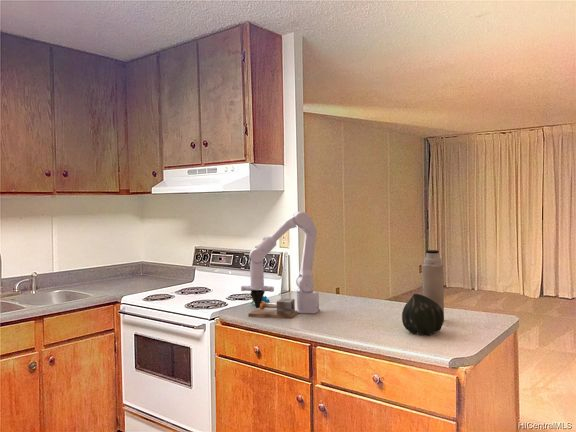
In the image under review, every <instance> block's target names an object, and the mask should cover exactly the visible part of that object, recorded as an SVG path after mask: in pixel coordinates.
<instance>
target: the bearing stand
mask: <svg viewBox="0 0 576 432" xmlns="http://www.w3.org/2000/svg"><path fill="white" fill-rule="evenodd" d="M295 301H296V299H295V298H285V297H284V298H283V297H282V298H280V299H279V300H277V301H276V303H277V308H276V309H273V308H264V310H263V309H260V308H255V309H253V310H251V311H249V313H247V314H248V317H250V316H251V318H252V317H254V318H255V317H256V318H272V319H274V318H275V319H276V318H277V319H294V317H295V316H297V314H299V313H298V311H297V309H296V307H295V305H296V304H295V303H296V302H295ZM295 309H296V310H295Z"/></svg>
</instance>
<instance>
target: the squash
mask: <svg viewBox="0 0 576 432" xmlns="http://www.w3.org/2000/svg"><path fill="white" fill-rule="evenodd" d="M401 313H402V314H401V320H402V324H403V327H404V328H405V329H406V330H407V331H408V332H409V333H412V334H418V335H420V336H424V335H427V336H431V335H434V334H435V333H436V332H437V333H438V332H439V331H440V330H441V329H442V327H443V324H444V322H445V313H444V314H443V311H442V308H441V307H440V306H439V305H438V304H437V303H436V302H434V301H433V300H431V299H430V298H428V297H425V296H423V294H419V293H413V295H412V296H411V297H410V299H408V301H407V303H406V304H405V305H404V307H403V309H402V312H401Z"/></svg>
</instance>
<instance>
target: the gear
mask: <svg viewBox="0 0 576 432" xmlns="http://www.w3.org/2000/svg"><path fill="white" fill-rule="evenodd" d="M261 301H264V302H265V303H271V302H270V299H269V298H268V297H267V296H266V295H263V297H262V300H261ZM253 303H254V300H253V298H252V299H251V302H250V305H251V304H252V305H253ZM254 307H256V306H255V304H254Z"/></svg>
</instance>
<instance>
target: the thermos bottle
mask: <svg viewBox="0 0 576 432" xmlns="http://www.w3.org/2000/svg"><path fill="white" fill-rule="evenodd" d="M439 253H440V251H439V250H437V249H428V250H426V251H425V254H426V255H425V258H424V259H423V263H422V264H421V267H422V268H421V269H422V272H421V273H422V295H423V296H425V297H428V298H430V299H431V300H433V301H434V302H436V303H437V304H438V305H439V306H440V307H441V308H442V311H443V314H444V315H445V303H444V302H445V301H444V299H445V296H444V295H445V294H444V289H445V288H444V287H445V285H444V264H442V258H440V254H439Z"/></svg>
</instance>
